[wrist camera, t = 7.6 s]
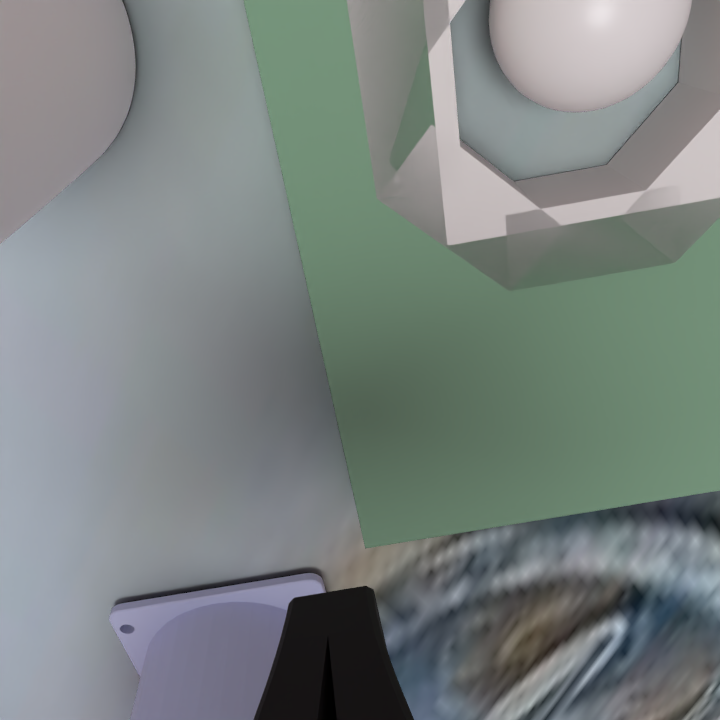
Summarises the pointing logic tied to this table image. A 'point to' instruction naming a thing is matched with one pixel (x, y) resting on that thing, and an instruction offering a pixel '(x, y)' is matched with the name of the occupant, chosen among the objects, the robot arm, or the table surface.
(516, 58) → the ball
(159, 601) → the robot arm
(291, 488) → the table surface
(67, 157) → the can
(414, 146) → the putting mat
